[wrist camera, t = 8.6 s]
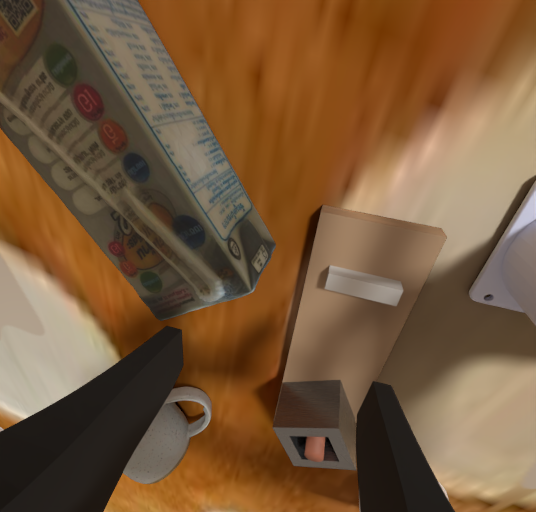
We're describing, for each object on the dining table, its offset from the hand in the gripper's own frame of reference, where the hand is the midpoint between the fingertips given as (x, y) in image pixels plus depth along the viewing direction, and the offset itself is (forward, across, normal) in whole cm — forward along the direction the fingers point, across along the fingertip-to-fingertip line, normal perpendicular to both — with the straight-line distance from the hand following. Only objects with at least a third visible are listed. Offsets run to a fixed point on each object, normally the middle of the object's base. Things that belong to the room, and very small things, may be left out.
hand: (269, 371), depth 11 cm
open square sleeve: (+9, -4, +14) cm, 17 cm away
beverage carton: (+11, +10, -5) cm, 16 cm away
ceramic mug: (+11, +11, +23) cm, 28 cm away
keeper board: (+10, -4, +8) cm, 14 cm away
